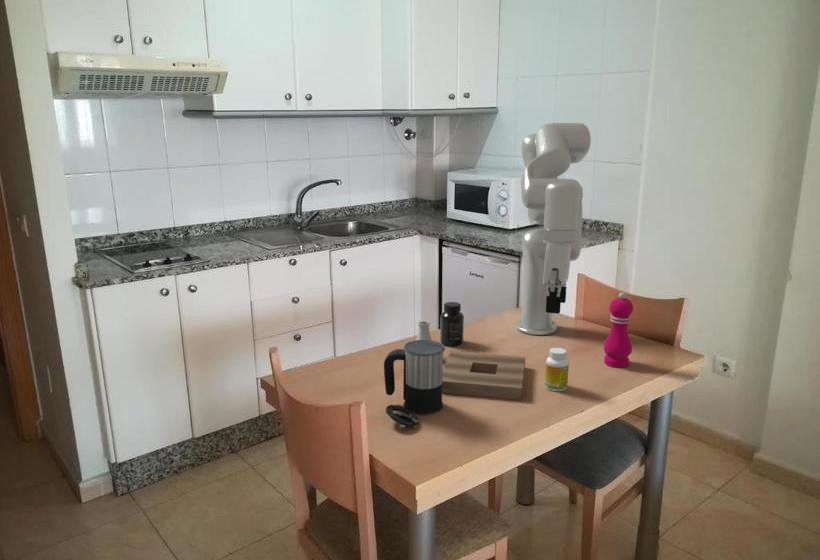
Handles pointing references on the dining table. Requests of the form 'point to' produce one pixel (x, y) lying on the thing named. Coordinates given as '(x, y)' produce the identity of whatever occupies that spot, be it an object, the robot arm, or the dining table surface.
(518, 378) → the block
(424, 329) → the flask
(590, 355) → the dining table surface
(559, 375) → the supplement bottle
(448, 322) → the supplement bottle
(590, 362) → the dining table surface
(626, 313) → the pepper mill
